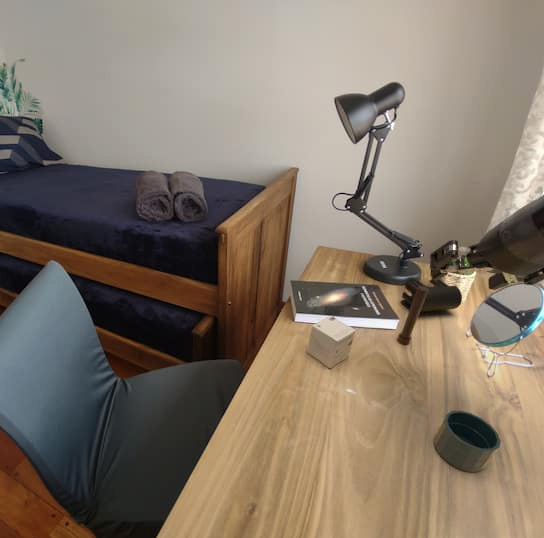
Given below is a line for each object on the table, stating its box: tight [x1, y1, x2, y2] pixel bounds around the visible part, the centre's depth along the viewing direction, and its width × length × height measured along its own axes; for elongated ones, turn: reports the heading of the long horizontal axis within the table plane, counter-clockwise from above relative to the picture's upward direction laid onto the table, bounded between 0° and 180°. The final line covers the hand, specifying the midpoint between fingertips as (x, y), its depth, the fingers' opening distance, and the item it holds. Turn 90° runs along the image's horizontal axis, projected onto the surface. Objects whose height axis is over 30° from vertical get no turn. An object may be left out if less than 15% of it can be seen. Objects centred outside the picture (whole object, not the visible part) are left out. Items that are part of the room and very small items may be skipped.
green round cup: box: [433, 410, 502, 473], centre depth 55 cm, size 7×7×6 cm
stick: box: [396, 286, 429, 346], centre depth 75 cm, size 2×2×14 cm
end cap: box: [400, 279, 463, 313], centre depth 87 cm, size 10×7×7 cm
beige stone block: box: [306, 315, 356, 369], centre depth 73 cm, size 6×6×7 cm
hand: (461, 279), depth 61 cm, fingers open, 8 cm apart
